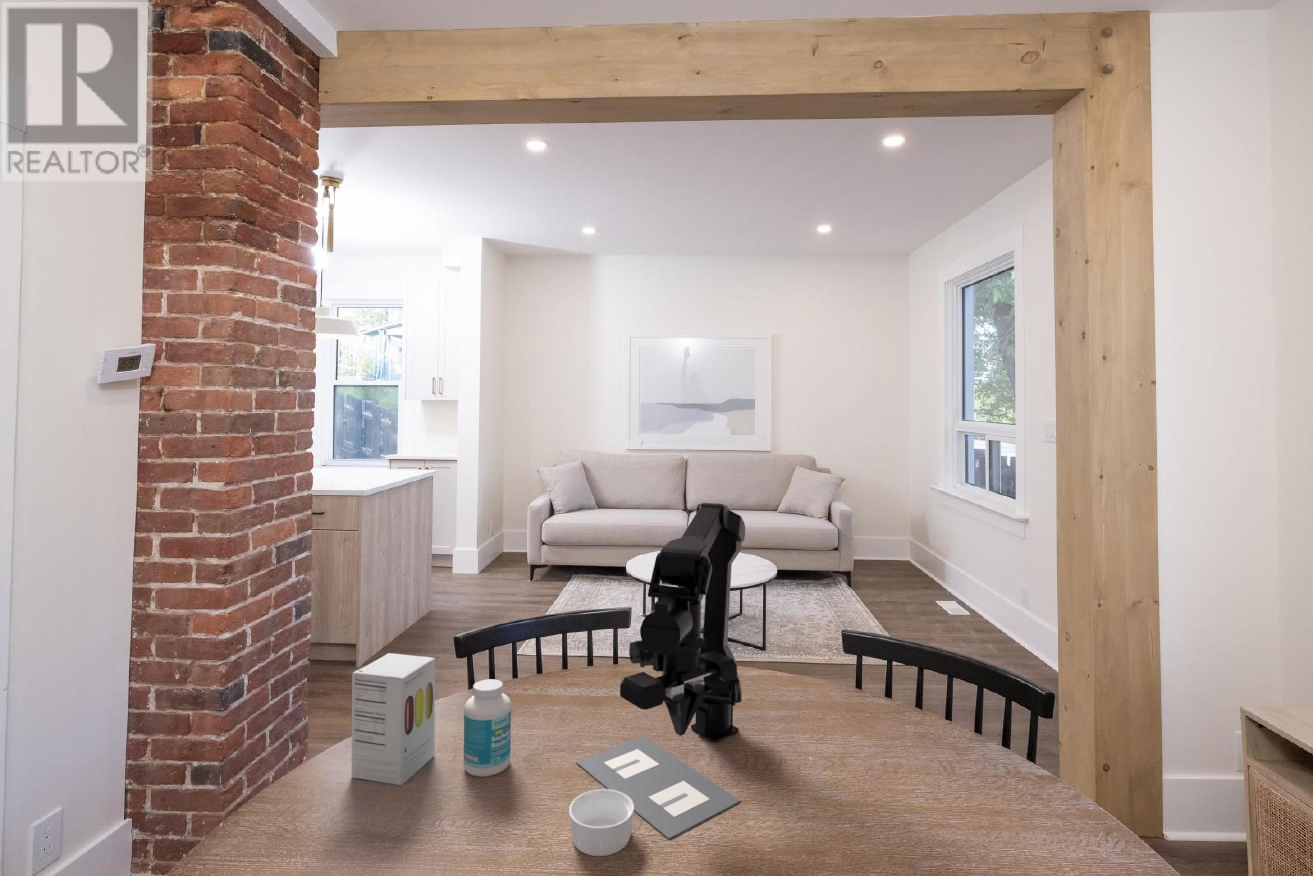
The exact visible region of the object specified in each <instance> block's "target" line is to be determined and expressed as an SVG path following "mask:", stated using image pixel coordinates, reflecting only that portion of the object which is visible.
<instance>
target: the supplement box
mask: <svg viewBox="0 0 1313 876" xmlns="http://www.w3.org/2000/svg"><path fill="white" fill-rule="evenodd" d="M351 679H352V680H351V682H352V684H351V691H352V692H351V778H353V779H361V780H367V781H372V782H378V783H384V784H391V785H396V786H403V784H404V783H405V782H407V781H408V780H409V779H410V778H412V777H413V776H414V775H415V774H416V773H417V772H418V771H419V770H421V769H422V768H423V767H424V766H425V765H426V764H428V762H429V761H431V760H432V759H433V758H434V757H435V725H436V723H435V719H436V718H435V717H436V715H435V714H436V707H435V706H436V658H435V657H429V656H421V655H412V654H411V655H410V654H403V653H402V654H401V653H394V652H393V653H392V652H388V653H386V654H384V655H383V656H381V657H379V658H378V659H375V660H374V661H373V662H371V663H368V664H367V665H365V666H363V667H361V668H360V669H358V670H355V671H353V672H352V674H351Z"/></svg>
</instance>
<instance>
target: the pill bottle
mask: <svg viewBox="0 0 1313 876" xmlns="http://www.w3.org/2000/svg"><path fill="white" fill-rule="evenodd" d="M503 691H504V683H503V682H502V681H501V680H499V679H493V678H492V679H490V678H489V679H487V678H486V679H481V680H479V681H477V682H475V683H474V684H473V685H472V694H473V695H471V697H469V698H468V699H467V700H466V703H465V704H464V709H463V768H464V770H465V772H466V773H468V774H469V775H471V776H475V777H482V778H484V777H490V776H495V775H497V774H500V773H501V772H503V771H505V770H506V768H508V766H509V765H510V762H511V743H512V742H511V738H512V737H511V736H512V735H511V732H512V730H511V729H512V728H511V727H512V724H511V723H512V722H511V721H512V716H511V715H512V702H511V699H510V698H509V696H508V695H506V694H505V693H503Z"/></svg>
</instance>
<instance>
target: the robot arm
mask: <svg viewBox="0 0 1313 876" xmlns="http://www.w3.org/2000/svg"><path fill="white" fill-rule="evenodd" d="M745 536H746V524H745V521H744V519H743V517H742V516H741V515H740V514H738V513H735V512H734V511H732V510H731V509H729V508H728V506H727V505H724V504H723V503H715V502H714V503H713V502H712V503H711V502H702V503H698V505H697V507H696V511H695V515H694V516H693V518H692V520H691V521H690V522H689V524H688V526H687V528H686V529H685V531H683V534H682V536H681V537H680V538H675V539H672V540H669V541H668V542H667V543H666V544H665V545H664V546H662V548H661V549H660V551H659V552H658V553H657V555H656V557H655V561H654V565H653V570H652V574H651V578H650V583H649V588H648V592H647V597H649V598H656V599H657V600H656V602H655V603H654V604H653V605H654V609H653V610H652V611H651V612H650V613H648V615H647V616H644V619H643V620H642V623H641V626H640V627H639V628H640V629H639V633H640V638H641V640H636V641H632V642H629V649H628V651H629V652H628V654H629V661H630V662H631V664H633V665H635V664H639V667H640V668H645V667H647V666H652V670H653V671H655V672H657V673H658V672H661V675H660V676H658V677H657V676H656V677H654V676H652V675H650V674H648V673H647V672H645V671H641V672H639V673H635V674H631V675H628V676H624V678H623V679H622V680H621V681H620V685H619V697H620V698H622V699H624V700H626V701H627V702H628V703H630V704H632V705H634V706H635V707H637V708H638V709H640V710H649V709H653V708H655V707H659V706H662V704H663V703H664V705H665V707H666V709H667V711H668V714H669V718H670V720H671V722H672V726H673V729H674V732H675V734H676V735H677V736H679V737H681V736H683V735H685V734H686V732H687V730H688V728H689V727H690V729H691V730H693V731H694V732H695V733H698V734H700V735H702V736H703V737H705V738H706V739H708V740H710V741H711V742H714V743H715V742H718V741H721V740H723V739H725V738H728V737H730V736H732V735H734V734H737V733H739V730H740V729H739V727H737V726H735V725H734V724H733V721H734V719H733V717H734V707H735V706H736V705H737V704H738V703H742V697H743V696H742V695H743V694H742V693H743V692H742V691H743V690H742V686H741V685H742V684H741V683H742V682H741V680H740V677H739V674H738V666H737V664H736V658H735V656H734V655H733V653H732V651H731V649H730V647H729V645H728V635H729V620H730V619H729V618H730V600H731V599H730V597H731V582H732V565H733V563H734V561H735V559H736V558H737V557H738V555H739V554H740V552H741V551H742V543H743V542H744V541H745ZM660 584H662V585H660ZM704 597H705V598H704ZM703 599H704V613H703V631H701V630H702V600H703ZM701 632H702V633H701ZM701 634H702V636H701ZM694 716H695V723H693V724H691V722H692V720H693V718H694Z"/></svg>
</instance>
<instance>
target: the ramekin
mask: <svg viewBox="0 0 1313 876" xmlns="http://www.w3.org/2000/svg"><path fill="white" fill-rule="evenodd" d="M634 813H635V811H634V803H633V801H632V800H631V799H630V797H628V796H627V795H626V794H624V793H622V792H619V791H616V790H611V789H607V788H598V789H593V790H592V789H591V790H589V791H588V790H587V791H585V792H583V793H581V794H578V795H577V796H576V797H575V798H574V799H573V800H572V802H571V803H570V805H569V807H568V817H569V819H570V827H571V837H572V842H573V845H574V846H575V848H576V849H577V850H578V851H580V852H582V853H583V854H586V855H588V856H593V857H607V856H611V855H614V854H615V853H616V854H617V852H619V851H622V850H623V849H624V848H626V846H627V845H628V843H629V841H630V840H631V839H630V838H631V835H632V834H631V833H632V829H633V828H632V827H633V826H632V825H633V816H634Z"/></svg>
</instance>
